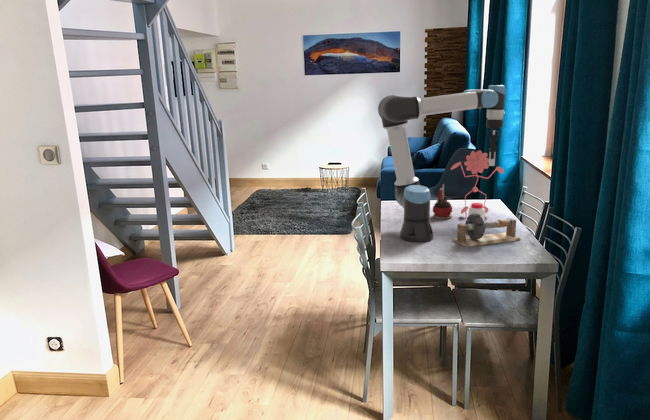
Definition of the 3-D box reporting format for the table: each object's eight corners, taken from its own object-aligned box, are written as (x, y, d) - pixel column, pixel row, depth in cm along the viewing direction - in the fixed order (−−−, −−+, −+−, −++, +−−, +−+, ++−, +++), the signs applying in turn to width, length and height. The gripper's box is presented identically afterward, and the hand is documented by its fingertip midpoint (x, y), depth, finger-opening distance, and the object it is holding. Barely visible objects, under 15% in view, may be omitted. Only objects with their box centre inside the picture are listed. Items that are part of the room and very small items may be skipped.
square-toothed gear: (478, 242, 228) (479, 217, 225) (465, 235, 238) (465, 212, 235) (484, 241, 228) (485, 217, 226) (470, 234, 239) (471, 211, 236)
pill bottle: (466, 226, 257) (467, 205, 255) (470, 223, 264) (470, 201, 261) (482, 228, 254) (483, 206, 251) (485, 224, 260) (486, 203, 258)
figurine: (501, 219, 269) (507, 154, 254) (449, 219, 272) (452, 155, 258) (496, 206, 283) (501, 144, 268) (447, 207, 286) (449, 145, 272)
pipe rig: (464, 246, 227) (465, 227, 225) (452, 240, 236) (453, 221, 234) (520, 240, 234) (521, 221, 232) (506, 234, 243) (507, 215, 241)
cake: (447, 221, 269) (448, 186, 265) (430, 219, 274) (431, 185, 270) (454, 216, 278) (455, 182, 274) (437, 214, 283) (438, 181, 279)
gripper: (503, 120, 234) (500, 167, 239) (502, 117, 257) (499, 160, 262) (486, 120, 236) (483, 167, 241) (486, 117, 259) (483, 159, 264)
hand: (491, 163), depth 251 cm, fingers open, 13 cm apart
